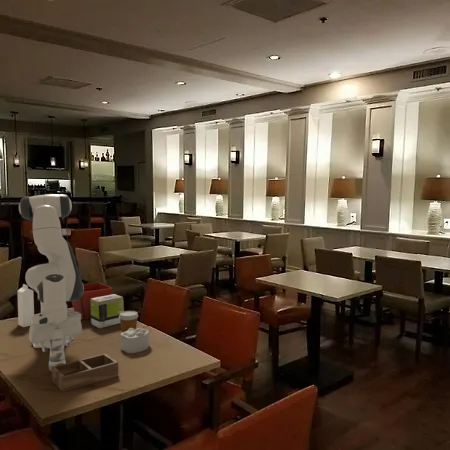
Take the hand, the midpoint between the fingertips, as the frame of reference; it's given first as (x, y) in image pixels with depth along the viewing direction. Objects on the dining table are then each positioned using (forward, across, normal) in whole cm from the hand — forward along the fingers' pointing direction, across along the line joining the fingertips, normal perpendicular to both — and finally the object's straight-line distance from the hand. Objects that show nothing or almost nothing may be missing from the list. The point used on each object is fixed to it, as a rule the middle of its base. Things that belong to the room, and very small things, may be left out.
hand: (56, 348), depth 178 cm
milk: (+9, -8, -69) cm, 70 cm away
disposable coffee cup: (+10, -42, -18) cm, 47 cm away
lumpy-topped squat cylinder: (+10, -38, -3) cm, 39 cm away
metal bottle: (+10, 0, 0) cm, 10 cm away
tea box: (+10, -43, -44) cm, 62 cm away
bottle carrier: (+10, -6, +14) cm, 18 cm away
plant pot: (+9, -42, -64) cm, 77 cm away
